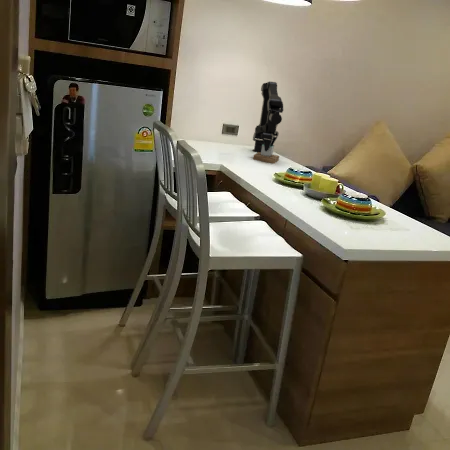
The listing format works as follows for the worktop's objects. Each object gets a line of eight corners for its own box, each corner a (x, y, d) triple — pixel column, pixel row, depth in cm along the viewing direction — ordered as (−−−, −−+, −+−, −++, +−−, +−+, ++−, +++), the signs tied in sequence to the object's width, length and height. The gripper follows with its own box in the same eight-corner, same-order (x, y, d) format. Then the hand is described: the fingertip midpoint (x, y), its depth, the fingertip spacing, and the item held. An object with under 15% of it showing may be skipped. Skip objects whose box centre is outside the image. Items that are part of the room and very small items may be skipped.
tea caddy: (262, 153, 290) (264, 143, 288) (272, 155, 288) (274, 145, 287) (260, 155, 285) (262, 144, 283) (270, 157, 283) (272, 146, 281)
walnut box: (257, 157, 295) (258, 152, 294) (278, 161, 292) (279, 155, 291) (252, 160, 284) (253, 155, 283) (274, 164, 281) (275, 158, 280)
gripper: (261, 118, 292) (257, 145, 296) (253, 120, 274) (249, 149, 279) (280, 121, 289) (276, 149, 294) (274, 124, 272) (269, 153, 277)
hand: (267, 150), depth 286 cm, fingers open, 9 cm apart
